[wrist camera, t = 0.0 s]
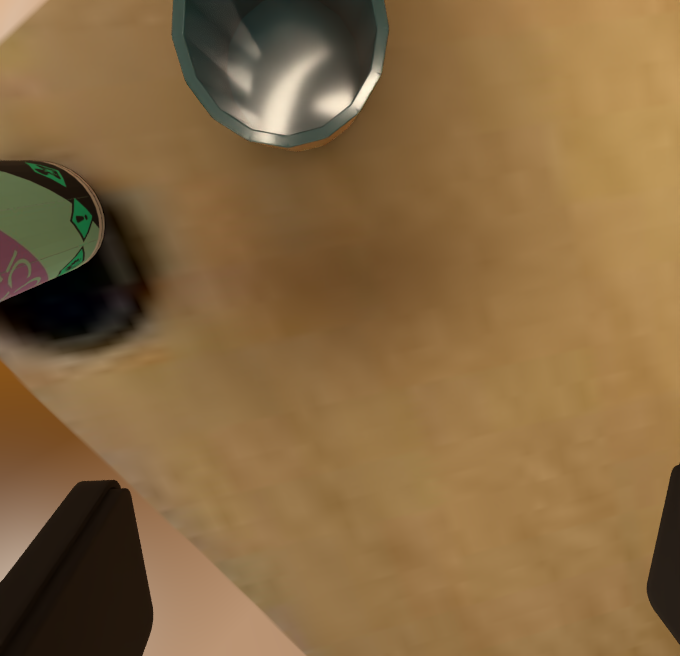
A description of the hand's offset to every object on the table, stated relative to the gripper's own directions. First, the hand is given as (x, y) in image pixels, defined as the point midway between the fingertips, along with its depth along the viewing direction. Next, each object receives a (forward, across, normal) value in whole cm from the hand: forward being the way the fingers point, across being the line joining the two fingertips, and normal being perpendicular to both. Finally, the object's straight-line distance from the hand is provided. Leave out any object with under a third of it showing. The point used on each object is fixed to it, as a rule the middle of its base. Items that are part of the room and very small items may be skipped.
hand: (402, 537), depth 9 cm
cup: (+19, +2, -10) cm, 22 cm away
